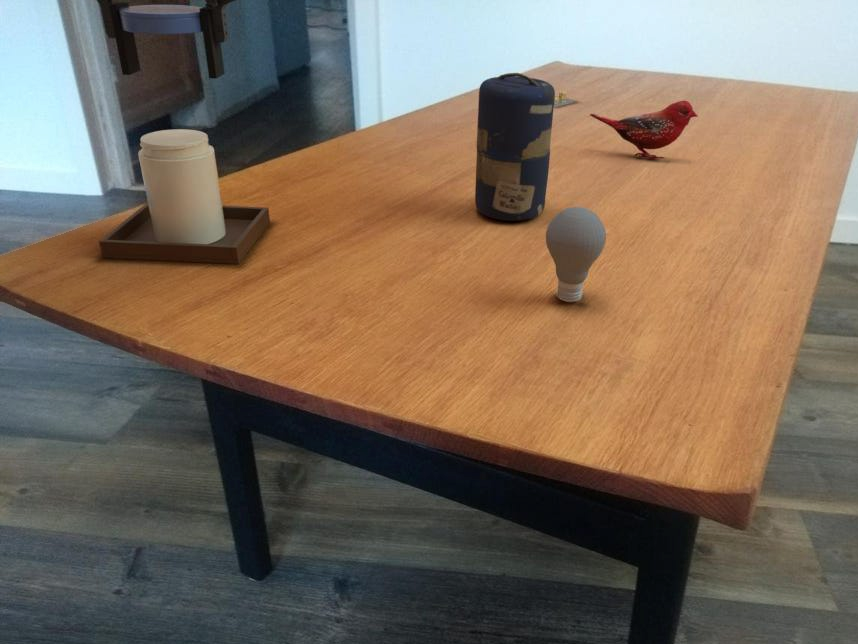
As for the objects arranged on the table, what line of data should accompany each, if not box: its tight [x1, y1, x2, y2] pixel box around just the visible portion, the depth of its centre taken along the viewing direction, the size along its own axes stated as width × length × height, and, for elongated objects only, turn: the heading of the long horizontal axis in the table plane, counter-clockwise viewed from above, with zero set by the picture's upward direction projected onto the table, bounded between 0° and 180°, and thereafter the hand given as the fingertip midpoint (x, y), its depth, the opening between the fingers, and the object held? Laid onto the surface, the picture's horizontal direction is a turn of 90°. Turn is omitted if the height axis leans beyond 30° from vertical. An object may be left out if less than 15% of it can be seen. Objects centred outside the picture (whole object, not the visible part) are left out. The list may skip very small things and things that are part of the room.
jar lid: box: [119, 4, 203, 35], centre depth 75 cm, size 8×8×2 cm
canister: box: [474, 72, 556, 222], centre depth 96 cm, size 10×10×18 cm
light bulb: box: [545, 206, 607, 303], centre depth 76 cm, size 6×6×10 cm
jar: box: [137, 128, 226, 244], centre depth 86 cm, size 8×8×12 cm
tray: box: [98, 201, 271, 265], centre depth 88 cm, size 15×13×2 cm
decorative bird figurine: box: [589, 100, 698, 160], centre depth 125 cm, size 3×18×10 cm, turn 70°
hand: (174, 74), depth 78 cm, fingers closed on jar lid, 8 cm apart
